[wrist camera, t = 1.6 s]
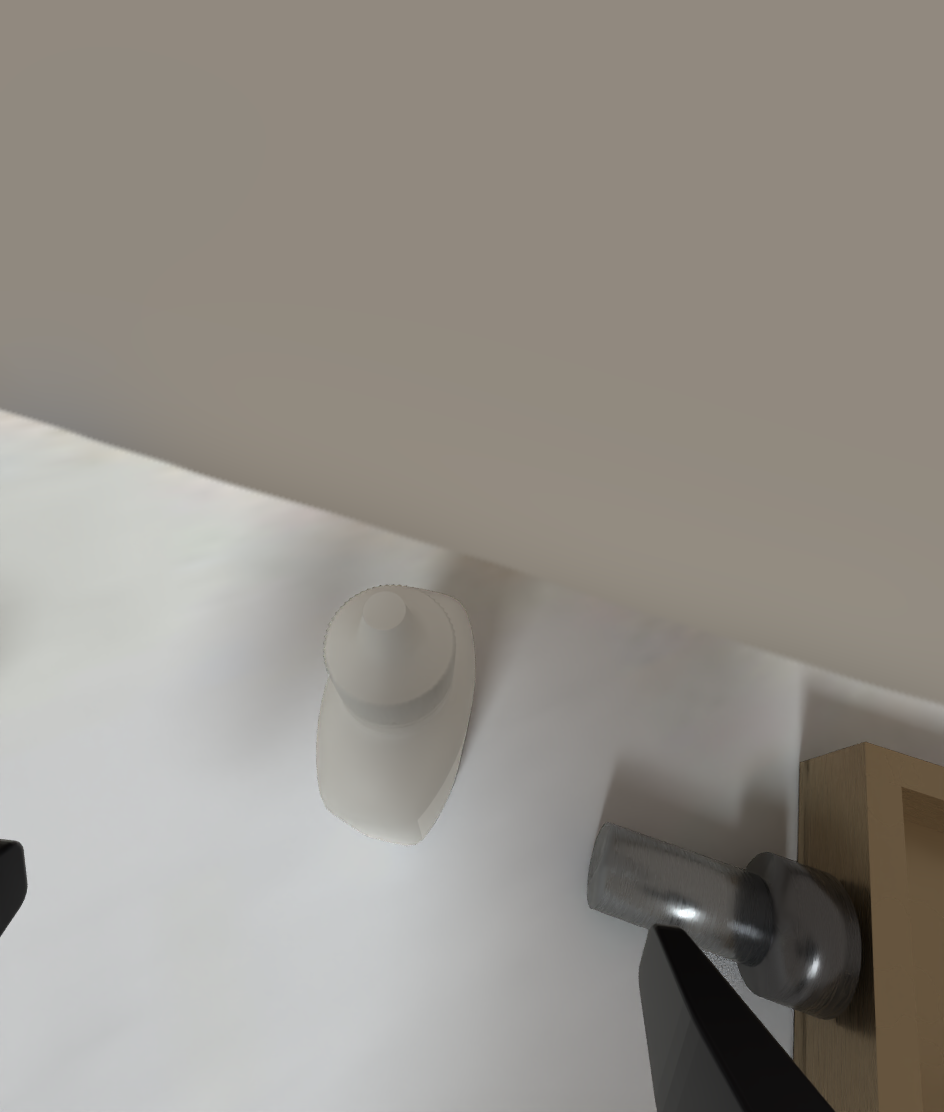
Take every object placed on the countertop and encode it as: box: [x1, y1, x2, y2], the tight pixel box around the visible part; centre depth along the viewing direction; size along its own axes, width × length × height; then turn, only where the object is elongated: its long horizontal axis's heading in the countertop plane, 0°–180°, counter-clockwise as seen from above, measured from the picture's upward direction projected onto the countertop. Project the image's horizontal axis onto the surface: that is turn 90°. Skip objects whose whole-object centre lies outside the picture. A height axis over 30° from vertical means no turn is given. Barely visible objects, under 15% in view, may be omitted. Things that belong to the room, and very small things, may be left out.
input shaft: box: [587, 822, 861, 1020], centre depth 16 cm, size 6×4×4 cm, turn 72°
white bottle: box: [316, 584, 476, 846], centre depth 14 cm, size 4×6×12 cm
